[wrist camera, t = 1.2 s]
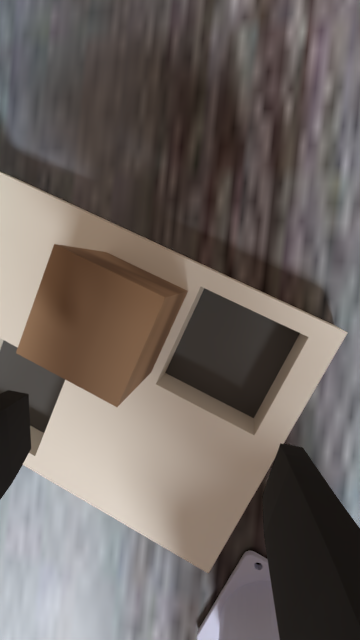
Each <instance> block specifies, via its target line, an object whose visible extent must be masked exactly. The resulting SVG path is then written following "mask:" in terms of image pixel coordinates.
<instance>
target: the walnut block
mask: <svg viewBox="0 0 360 640" xmlns="http://www.w3.org/2000/svg"><path fill="white" fill-rule="evenodd" d="M187 293H188V291H187V290H185V289H183V288H181V287H179V286H177V285H174V284H172V283H170V282H168V281H166V280H164V279H162V278H160V277H158V276H155V275H153V274H151V273H149V272H147V271H145V270H143V269H141V268H139V267H137V266H134V265H132V264H130V263H128V262H126V261H124V260H122V259H120V258H118V257H115V256H113V255H111V254H109V253H107V252H103V251H96V250H90V249H84V248H77V247H71V246H64V245H58V244H54V246H53V249H52V252H51V254H50V257H49V260H48V263H47V266H46V269H45V272H44V274H43V277H42V280H41V283H40V286H39V289H38V291H37V294H36V297H35V300H34V303H33V306H32V309H31V311H30V314H29V317H28V320H27V323H26V326H25V328H24V331H23V334H22V337H21V340H20V343H19V346H18V348H17V351H16V353H17V354H19V355H21V356H22V357H24V358H26V359H28V360H30V361H32V362H34V363H35V364H37V365H39V366H41V367H43V368H45V369H47V370H48V371H50V372H52V373H54V374H56V375H58V376H60V377H61V378H63V379H65V380H67V381H69V382H71V383H73V384H74V385H76V386H78V387H80V388H82V389H84V390H86V391H87V392H89V393H91V394H93V395H95V396H97V397H99V398H101V399H102V400H104V401H106V402H108V403H110V404H112V405H114V406H115V407H118V406H119V405H120V404H121V403H122V402H123V401H124V400H125V399H126V398H127V397H128V396H129V395H130V394H131V393H132V392H133V391H134V390H135V389H136V388H137V387H138V386H139V384H140V383H141V382H142V381H143V380H144V379H145V378H146V377H147V376H148V375H149V374H150V373H151V372H152V370H153V368H154V365H155V363H156V361H157V359H158V357H159V354H160V352H161V350H162V348H163V346H164V343H165V341H166V339H167V337H168V334H169V332H170V330H171V328H172V326H173V323H174V321H175V319H176V317H177V315H178V312H179V310H180V308H181V306H182V304H183V301H184V299H185V297H186V295H187Z"/></svg>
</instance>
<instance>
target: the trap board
mask: <svg viewBox="0 0 360 640" xmlns="http://www.w3.org/2000/svg"><path fill="white" fill-rule="evenodd" d="M54 244H58V245H64V246H71V247H77V248H84V249H90V250H96V251H103V252H107V253H109V254H111V255H113V256H115V257H118V258H120V259H122V260H124V261H126V262H128V263H130V264H132V265H134V266H137V267H139V268H141V269H143V270H145V271H147V272H149V273H151V274H153V275H155V276H158V277H160V278H162V279H164V280H166V281H168V282H170V283H172V284H174V285H177V286H179V287H181V288H183V289H185V290H187V291H188V293H187V295H186V297H185V299H184V301H183V304H182V306H181V308H180V310H179V312H178V315H177V317H176V319H175V321H174V323H173V326H172V328H171V330H170V332H169V334H168V337H167V339H166V341H165V343H164V346H163V348H162V350H161V352H160V354H159V357H158V359H157V361H156V363H155V365H154V368H153V370H152V372H151V373H150V374H149V375H148V376H147V377H146V378H145V379H144V380H143V381H142V382H141V383H140V384H139V386H138V387H137V388H136V389H135V390H134V391H133V392H132V393H131V394H130V395H129V396H128V397H127V398H126V399H125V400H124V401H123V402H122V403H121V404H120V405H119V406H118V407H115V406H114V405H112V404H110V403H108V402H106V401H104V400H102V399H101V398H99V397H97V396H95V395H93V394H91V393H89V392H87V391H86V390H84V389H82V388H80V387H78V386H76V385H74V384H73V383H71V382H69V381H67V380H65V379H63V378H61V377H60V376H58V375H56V374H54V373H52V372H50V371H48V370H47V369H45V368H43V367H41V366H39V365H37V364H35V363H34V362H32V361H30V360H28V359H26V358H24V357H22V356H21V355H19V354H17V353H16V351H17V348H18V346H19V343H20V340H21V337H22V334H23V331H24V328H25V326H26V323H27V320H28V317H29V314H30V311H31V309H32V306H33V303H34V300H35V297H36V294H37V291H38V289H39V286H40V283H41V280H42V277H43V274H44V272H45V269H46V266H47V263H48V260H49V257H50V254H51V252H52V249H53V246H54ZM346 335H347V332H345V331H344V330H342V329H340V328H339V327H337V326H335V325H333V324H331V323H329V322H327V321H324V320H322V319H320V318H318V317H316V316H314V315H311V314H309V313H307V312H305V311H303V310H301V309H298V308H296V307H294V306H292V305H290V304H288V303H285V302H283V301H281V300H279V299H277V298H275V297H272V296H270V295H268V294H266V293H264V292H262V291H259V290H257V289H255V288H253V287H251V286H249V285H246V284H244V283H242V282H240V281H238V280H236V279H233V278H231V277H229V276H227V275H225V274H223V273H220V272H218V271H216V270H214V269H212V268H210V267H207V266H205V265H203V264H201V263H199V262H197V261H194V260H192V259H190V258H188V257H186V256H184V255H181V254H179V253H177V252H175V251H173V250H171V249H168V248H166V247H164V246H162V245H160V244H158V243H155V242H153V241H151V240H149V239H147V238H145V237H142V236H140V235H138V234H136V233H134V232H131V231H129V230H127V229H125V228H123V227H121V226H118V225H116V224H114V223H112V222H110V221H108V220H105V219H103V218H101V217H99V216H97V215H95V214H92V213H90V212H88V211H86V210H84V209H82V208H79V207H77V206H75V205H73V204H71V203H69V202H66V201H64V200H62V199H60V198H58V197H56V196H53V195H51V194H49V193H47V192H45V191H43V190H40V189H38V188H36V187H34V186H32V185H30V184H27V183H25V182H23V181H21V180H19V179H17V178H14V177H12V176H10V175H8V174H5V173H3V172H1V171H0V394H1V393H3V392H5V391H7V390H11V391H16V392H21V393H26V394H29V412H30V433H31V450H30V452H29V454H28V455H27V457H26V459H25V461H24V463H23V465H24V466H26V467H27V468H29V469H31V470H33V471H34V472H36V473H38V474H39V475H41V476H43V477H45V478H46V479H48V480H50V481H51V482H53V483H55V484H57V485H58V486H60V487H62V488H63V489H65V490H67V491H68V492H70V493H72V494H74V495H75V496H77V497H79V498H80V499H82V500H84V501H86V502H87V503H89V504H91V505H92V506H94V507H96V508H98V509H99V510H101V511H103V512H104V513H106V514H108V515H109V516H111V517H113V518H115V519H116V520H118V521H120V522H121V523H123V524H125V525H127V526H128V527H130V528H132V529H133V530H135V531H137V532H139V533H140V534H142V535H144V536H145V537H147V538H149V539H151V540H152V541H154V542H156V543H157V544H159V545H161V546H162V547H164V548H166V549H168V550H169V551H171V552H173V553H174V554H176V555H178V556H180V557H181V558H183V559H185V560H186V561H188V562H190V563H192V564H193V565H195V566H197V567H198V568H200V569H202V570H203V571H205V572H207V573H209V572H210V570H211V568H212V566H213V565H214V563H215V561H216V560H217V558H218V556H219V554H220V553H221V551H222V549H223V547H224V546H225V544H226V542H227V541H228V539H229V537H230V535H231V534H232V532H233V530H234V528H235V527H236V525H237V523H238V521H239V520H240V518H241V516H242V515H243V513H244V511H245V509H246V508H247V506H248V504H249V502H250V501H251V499H252V497H253V496H254V494H255V492H256V490H257V489H258V487H259V485H260V483H261V482H262V480H263V478H264V477H265V475H266V473H267V471H268V470H269V468H270V466H271V464H272V463H273V461H274V459H275V457H276V455H277V452H278V449H279V446H280V443H281V444H284V442H285V440H286V438H287V437H288V435H289V433H290V432H291V430H292V428H293V426H294V425H295V423H296V421H297V419H298V418H299V416H300V414H301V413H302V411H303V409H304V407H305V406H306V404H307V402H308V400H309V399H310V397H311V395H312V393H313V392H314V390H315V388H316V387H317V385H318V383H319V381H320V380H321V378H322V376H323V374H324V373H325V371H326V369H327V368H328V366H329V364H330V362H331V361H332V359H333V357H334V355H335V354H336V352H337V350H338V349H339V347H340V345H341V343H342V342H343V340H344V338H345V336H346Z"/></svg>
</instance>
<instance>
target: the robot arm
mask: <svg viewBox="0 0 360 640" xmlns="http://www.w3.org/2000/svg"><path fill="white" fill-rule="evenodd" d="M30 450H31V433H30V412H29V394H26V393H21V392H16V391H11V390H7V391H5V392H3V393H1V394H0V499H1V498H2V496H3V495H4V494H5V492H6V491H7V489H8V488H9V486H10V485H11V484H12V482H13V480H14V479H15V477H16V475H17V473H18V472H19V470H20V468H21V467H22V465H23V463H24V461H25V459H26V457H27V455H28V454H29V452H30ZM263 523H264V538H265V545H266V552H267V559H266V558H265V557H263V556H261V555H259V554H258V553H256V552H254V551H246V552H245V553H244V554H243V556H242V558H241V559H240V561H239V563H238V564H237V566H236V568H235V569H234V571H233V573H232V574H231V576H230V578H229V579H228V581H227V583H226V584H225V586H224V588H223V589H222V591H221V593H220V594H219V596H218V598H217V599H216V601H215V603H214V604H213V606H212V608H211V609H210V611H209V613H208V614H207V616H206V618H205V619H204V621H203V623H202V624H201V626H200V628H199V629H198V633H197V639H198V640H360V528H359V527H358V526H357V524H356V523H355V522H354V520H353V519H352V517H351V516H350V515H349V513H348V512H347V511H346V509H345V508H344V506H343V505H342V504H341V502H340V501H339V499H338V498H337V497H336V495H335V494H334V492H333V491H332V489H331V488H330V487H329V485H328V484H327V482H326V481H325V479H324V478H323V476H322V475H321V473H320V472H319V471H318V469H317V468H316V466H315V465H314V463H313V462H312V460H311V459H310V457H309V456H308V455H307V453H306V452H305V450H304V449H303V448H302V447H297V446H292V445H287V444H281V443H280V446H279V449H278V452H277V455H276V457H275V460H274V463H273V466H272V469H271V472H270V475H269V478H268V481H267V484H266V487H265V490H264V493H263ZM256 563H261V565H257V564H256Z"/></svg>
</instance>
